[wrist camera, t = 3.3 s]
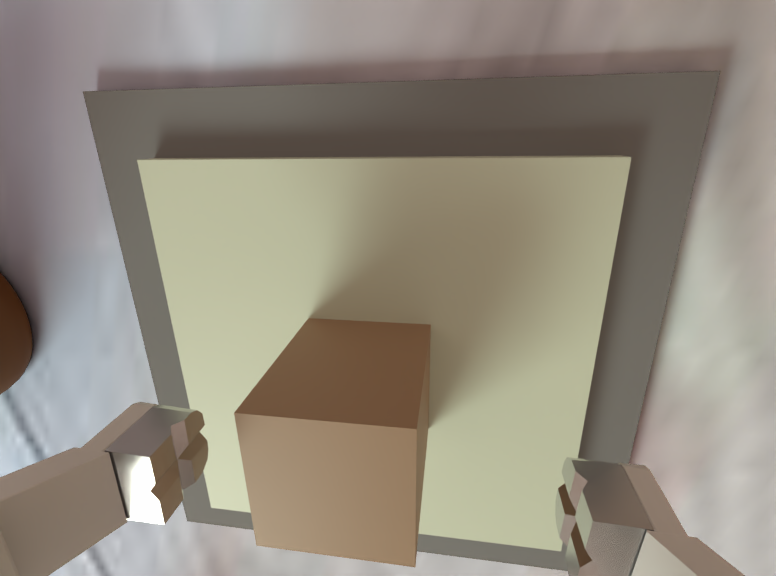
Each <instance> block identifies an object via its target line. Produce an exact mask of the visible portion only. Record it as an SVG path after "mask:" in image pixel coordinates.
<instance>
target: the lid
mask: <svg viewBox="0 0 776 576" xmlns="http://www.w3.org/2000/svg"><path fill="white" fill-rule="evenodd" d="M137 162H138V167H139V172H140V176H141V181H142V186H143V190H144V195H145V200H146V204H147V209H148V214H149V218H150V223H151V228H152V232H153V237H154V242H155V247H156V251H157V256H158V261H159V265H160V270H161V275H162V279H163V284H164V289H165V293H166V298H167V303H168V307H169V312H170V317H171V322H172V326H173V331H174V336H175V340H176V345H177V350H178V354H179V359H180V364H181V368H182V373H183V378H184V382H185V387H186V392H187V397H188V401H189V406H190V409H193V410H198V411H199V412H201V413H202V414H203V419H204V424H205V425H204V427H203V428H202V430H201V431H200V433H201V434H202V435H203V436H204V437H205V439H206V440H207V442H208V460H207V462H206V465H205V468H204V470H203V472H204V476H205V481H206V486H207V490H208V495H209V500H210V504H211V508H217V509H225V510H233V511H241V512H249V513H251V516H252V522H253V528H254V534H255V539H256V545H257V546H264V547H271V548H279V549H286V550H293V551H301V552H308V553H315V554H322V555H330V556H337V557H344V558H352V559H359V560H366V561H374V562H381V563H388V564H396V565H403V566H410V567H415V564H416V553H417V543H418V534H425V535H433V536H441V537H449V538H457V539H465V540H473V541H481V542H489V543H497V544H505V545H513V546H521V547H529V548H537V549H545V550H553V551H561V549H562V543H563V541H562V540H561V539H560V538H559V534H558V530H557V525H556V517H555V501H556V496H557V490H558V488H559V487H560V486H562V485H563V484H564V483H565V482H564V478H563V475H562V468H563V464H564V461H565V460H566V458H567V457H570V458H578V454H579V448H580V442H581V437H582V431H583V426H584V420H585V414H586V409H587V403H588V398H589V392H590V387H591V381H592V375H593V370H594V364H595V359H596V353H597V347H598V342H599V336H600V331H601V325H602V319H603V314H604V308H605V303H606V297H607V292H608V286H609V280H610V275H611V269H612V264H613V258H614V252H615V247H616V241H617V236H618V230H619V224H620V219H621V213H622V208H623V202H624V197H625V191H626V185H627V180H628V174H629V169H630V163H631V157H627V156H621V155H597V156H434V157H272V158H152V159H141V160H137Z"/></svg>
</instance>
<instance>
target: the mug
mask: <svg viewBox="0 0 776 576" xmlns="http://www.w3.org/2000/svg"><path fill="white" fill-rule="evenodd" d="M31 354H32V333H31V328H30V323H29V320H28V317H27V314H26V311H25V309H24V307H23V305H22V303H21V301H20V299H19V297H18V296H17V294H16V292H15V291H14V289H13V288H12V286H11V285H10V284H9V282H8V281H7V280H6V279H5V278H4V276H3V275H2V274H1V273H0V394H1V393H3V392H4V391H6V390H7V389H9V388H10V387H11V386H12V385H13V384H14V383H15V382H16V381H18V380H19V379H20V377H21V376H22V375H23V373H24V371H25V370H26V368H27V366H28V363H29V361H30V358H31Z"/></svg>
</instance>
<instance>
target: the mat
mask: <svg viewBox="0 0 776 576" xmlns="http://www.w3.org/2000/svg"><path fill="white" fill-rule="evenodd" d="M719 75H720V71H700V72H669V73H638V74H607V75H577V76H546V77H515V78H485V79H454V80H423V81H392V82H362V83H331V84H300V85H270V86H239V87H208V88H177V89H147V90H116V91H85V92H83V94H84V98H85V102H86V106H87V111H88V115H89V119H90V123H91V127H92V131H93V135H94V139H95V143H96V148H97V152H98V156H99V160H100V164H101V168H102V172H103V176H104V180H105V185H106V189H107V193H108V197H109V201H110V205H111V209H112V213H113V217H114V222H115V226H116V230H117V234H118V238H119V242H120V246H121V250H122V255H123V259H124V263H125V267H126V271H127V275H128V279H129V283H130V287H131V292H132V296H133V300H134V304H135V308H136V312H137V316H138V320H139V324H140V329H141V333H142V337H143V341H144V345H145V349H146V353H147V357H148V361H149V366H150V370H151V374H152V378H153V382H154V386H155V390H156V394H157V398H158V403H159V404H160V405H166V406H173V407H179V408H186V409H190V406H189V401H188V397H187V392H186V387H185V382H184V378H183V373H182V368H181V364H180V359H179V354H178V350H177V345H176V340H175V336H174V331H173V326H172V322H171V317H170V312H169V307H168V303H167V298H166V293H165V289H164V284H163V279H162V275H161V270H160V265H159V261H158V256H157V251H156V247H155V242H154V237H153V232H152V228H151V223H150V218H149V214H148V209H147V204H146V200H145V195H144V190H143V186H142V181H141V176H140V172H139V167H138V162H137V160H141V159H152V158H272V157H434V156H597V155H621V156H627V157H631V163H630V169H629V174H628V180H627V185H626V191H625V197H624V202H623V208H622V213H621V219H620V224H619V230H618V236H617V241H616V247H615V252H614V258H613V264H612V269H611V275H610V280H609V286H608V292H607V297H606V303H605V308H604V314H603V319H602V325H601V331H600V336H599V342H598V347H597V353H596V359H595V364H594V370H593V375H592V381H591V387H590V392H589V398H588V403H587V409H586V414H585V420H584V426H583V431H582V437H581V442H580V448H579V454H578V458H579V459H587V460H595V461H604V462H612V463H626V464H629V460H630V456H631V452H632V448H633V443H634V439H635V435H636V430H637V426H638V422H639V418H640V413H641V409H642V405H643V401H644V396H645V392H646V388H647V383H648V379H649V375H650V371H651V366H652V362H653V358H654V353H655V349H656V345H657V341H658V336H659V332H660V328H661V323H662V319H663V315H664V311H665V306H666V302H667V298H668V293H669V289H670V285H671V281H672V276H673V272H674V268H675V263H676V259H677V255H678V251H679V246H680V242H681V238H682V233H683V229H684V225H685V221H686V216H687V212H688V208H689V203H690V199H691V195H692V191H693V186H694V182H695V178H696V173H697V169H698V165H699V161H700V156H701V152H702V148H703V143H704V139H705V135H706V131H707V126H708V122H709V118H710V113H711V109H712V105H713V101H714V96H715V92H716V88H717V83H718V79H719ZM183 498H184V499H183V500H182V501H183V505H184V510H185V514H186V518H187V521H191V522H198V523H206V524H213V525H221V526H229V527H236V528H244V529H252V530H254V528H253V522H252V516H251V513H249V512H241V511H233V510H225V509H217V508H211V504H210V500H209V495H208V490H207V486H206V481H205V476H204V472H203V473H202V474H201V476H200V477H199V478H198V480H197V481H196V483H194V484H192V485H191V486H189V487H187V488H185V489H184V490H183ZM567 547H568V546H567V545H566V544H565V543H564V542H563V543H562V549H561V551H553V550H545V549H537V548H529V547H521V546H513V545H505V544H497V543H489V542H481V541H473V540H465V539H457V538H449V537H441V536H433V535H425V534H418V543H417V551H419V552H427V553H435V554H442V555H450V556H457V557H465V558H473V559H480V560H488V561H496V562H503V563H511V564H518V565H526V566H534V567H541V568H549V569H557V570H564V571H568V570H567V566H566V562H565V555H566V551H567Z"/></svg>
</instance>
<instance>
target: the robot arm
mask: <svg viewBox="0 0 776 576" xmlns="http://www.w3.org/2000/svg"><path fill="white" fill-rule="evenodd" d="M204 425H205V424H204V419H203V414H202V413H201V412H199V411H198V410H193V409H186V408H179V407H173V406H166V405H160V404H159V405H157V404H150V403H144V402H138V403H135V404H132V405H131V406H130V407H129V408H127V409H126V410H125V411H124V412H123V413H122V414H120V415H119V416H118V417H117V418H116V419H114V420H113V421H112V422H111V423H110V424H109V425H107V426H106V427H105V428H104V429H103V430H101V431H100V432H99V433H98V434H97V435H96V436H94V437H93V438H92V439H91V440H90V441H88V442H87V443H86V444H85V445H84V446H83V447H81V448H72V449H69V450H67V451H64V452H62V453H59V454H57V455H54V456H52V457H49V458H47V459H44V460H42V461H40V462H37V463H35V464H32V465H30V466H27V467H25V468H22V469H20V470H17V471H15V472H12V473H10V474H7V475H5V476H3V477H0V576H48V575H50V574H51V573H53V572H54V571H56V570H57V569H59V568H60V567H62V566H63V565H65V564H66V563H68V562H69V561H70V560H72V559H73V558H75V557H76V556H78V555H79V554H81V553H82V552H84V551H85V550H87V549H88V548H90V547H91V546H93V545H94V544H96V543H97V542H99V541H100V540H101V539H103V538H104V537H106V536H107V535H109V534H110V533H112V532H113V531H115V530H116V529H118V528H119V527H121V526H122V525H124V524H125V523H127V520H133V521H141V522H148V523H156V524H163V525H165V523H166V522H167V521H168V519H169V518H170V517H171V515H172V514H173V513H174V511H175V510H176V508H177V507H178V506H179V504H180V503H181V502H182V500H183V499H184V498H183V490H184V489H185V488H187V487H189V486H191V485H192V484H194V483H196V481H197V480H198V478H199V477H200V476H201V474H202V473H203V470H204V468H205V465H206V462H207V460H208V442H207V440H206V439H205V437H204V436H203V435H202V434H201V433H200V431H201V430H202V428H203V427H204ZM562 475H563V478H564V482H565V483H564V484H563V485H562V486H560V487H559V488H558V490H557V496H556V501H555V517H556V525H557V530H558V534H559V538H560V539H561V540H562V541H563V542H564V543H565V544H566V545H567V546H568V547H567V551H566V555H565V562H566V566H567V570H568V574H569V576H745V575H743V574H742V573H741V572H740V571H738V570H737V569H736V568H735V567H733V566H732V565H731V564H729V563H728V562H727V561H726V560H724V559H723V558H722V557H721V556H719V555H718V554H717V553H716V552H714V551H713V550H712V549H710V548H709V547H708V546H707V545H705V544H704V543H703V542H702V541H700V540H699V539H698V538H695V537H689V536H688V535H687V534H686V532H685V530H684V528H683V527H682V525H681V523H680V521H679V520H678V518H677V516H676V514H675V513H674V511H673V509H672V508H671V506H670V504H669V502H668V501H667V499H666V497H665V495H664V494H663V492H662V490H661V488H660V487H659V485H658V483H657V481H656V480H655V478H654V476H653V474H652V473H651V471H650V469H648V468H647V467H646V466H644V465H635V464H626V463H612V462H604V461H595V460H587V459H579V458H570V457H567V458H566V460H565V461H564V464H563V468H562Z"/></svg>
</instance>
